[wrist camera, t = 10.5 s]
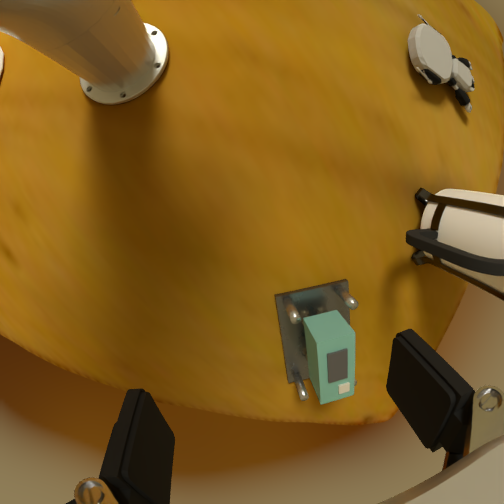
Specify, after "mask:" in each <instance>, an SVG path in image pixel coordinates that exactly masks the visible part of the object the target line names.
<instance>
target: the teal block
mask: <svg viewBox="0 0 504 504" xmlns="http://www.w3.org/2000/svg"><path fill="white" fill-rule="evenodd" d="M303 322H304V330H305V339H306V348H307V358H308V368H309V377H310V380H311V382H312V385H313V387H314V389H315V392H316V394H317V397H318V399H319V402H320V404H325V403H328V402H332V401H335V400H338V399H342V398H345V397H348V396H351V395H354V379H355V332H354V330H353V329H352V328H351V327H350V325H349V324H348V323H347V322H346V320H345V319H344V318H343V317H342V316H341V314H340V313H339V312H338V311H337V310H334V311H330V312H326V313H322V314H318V315H314V316H310V317H305V318H303Z"/></svg>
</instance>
